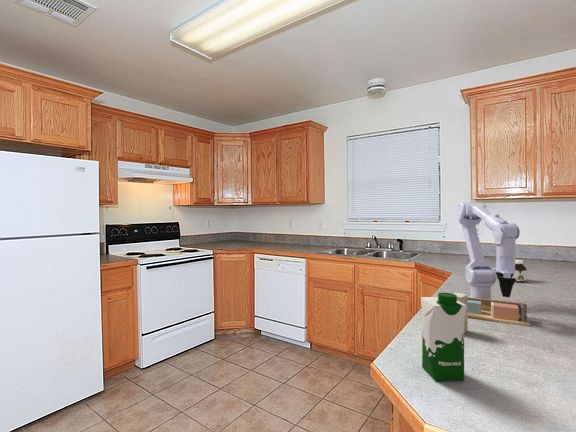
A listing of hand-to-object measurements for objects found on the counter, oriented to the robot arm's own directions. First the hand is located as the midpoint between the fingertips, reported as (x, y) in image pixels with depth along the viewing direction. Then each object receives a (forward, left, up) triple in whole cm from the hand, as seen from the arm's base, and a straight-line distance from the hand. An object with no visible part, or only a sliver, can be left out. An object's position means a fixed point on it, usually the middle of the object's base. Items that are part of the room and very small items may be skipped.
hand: (505, 294), depth 120 cm
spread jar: (-79, +11, -10) cm, 80 cm away
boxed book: (0, 0, -8) cm, 8 cm away
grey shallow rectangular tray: (0, +6, -8) cm, 10 cm away
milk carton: (+54, -16, -9) cm, 57 cm away
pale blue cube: (-1, -10, -9) cm, 14 cm away
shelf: (-1, -3, -9) cm, 10 cm away
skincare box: (+21, -14, -9) cm, 27 cm away
